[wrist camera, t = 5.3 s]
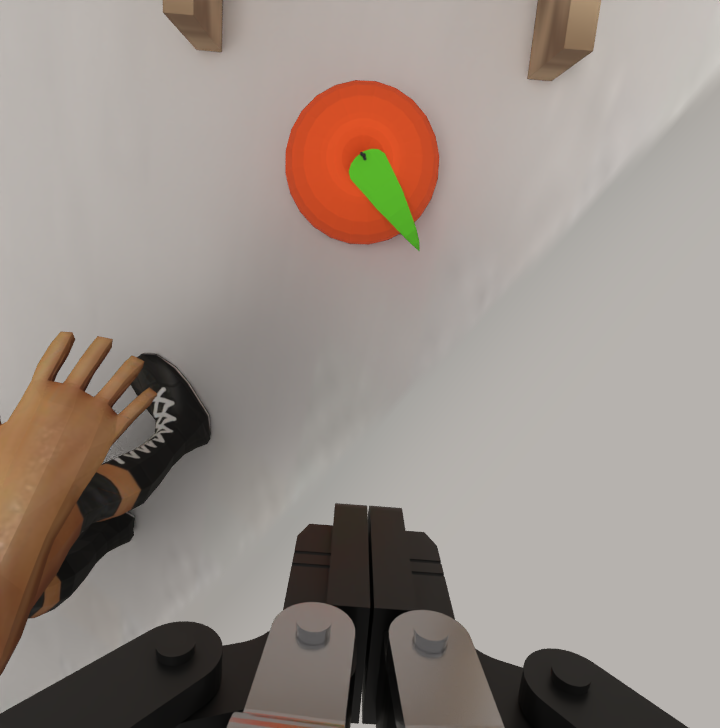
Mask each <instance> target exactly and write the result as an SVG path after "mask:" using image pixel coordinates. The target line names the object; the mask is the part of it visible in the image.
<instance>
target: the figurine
mask: <svg viewBox="0 0 720 728" xmlns="http://www.w3.org/2000/svg"><path fill="white" fill-rule="evenodd" d="M112 340H113V339H109V338H104V337H99V336H97V338H96V339H95V340H94V341H93V343H92V344H91V345H90V346H89V348H88V349H87V350H86V352H85V353H84V354H83V356H82V357H81V358H80V360H79V361H78V363H77V364H76V366H75V367H74V369H73V370H72V372H71V373H70V375H69V376H68V378H67V379H66V381H65V382H64V383H58V382H54V380H55V378H56V375H57V373H58V371H59V370H60V368H61V367H62V365H63V363H64V362H65V360H66V358H67V357H68V355H69V353H70V350H71V348H72V346H73V343H74V341H75V338H74V335H73V333H72V332H60V333H59V334H58V336H57V337H56V338H55V339H54V340H53V341H52V343H51V344H50V346H49V347H48V349H47V350H46V352H45V354H44V355H43V357H42V358H41V360H40V362H39V363H38V365H37V368H36V370H35V373H34V375H33V377H32V381H31V383H30V384H29V386H28V388H27V390H26V391H25V393H24V395H23V397H22V399H21V400H20V402H19V404H18V405H17V407H16V408H15V410H14V412H13V413H12V415H11V416H10V418H9V420H8V421H7V422H5V423H4V424H1V421H0V675H1V674H2V672H3V671H4V669H5V667H6V665H7V663H8V661H9V659H10V657H11V655H12V653H13V652H14V650H15V648H16V646H17V644H18V642H19V640H20V638H21V636H22V633H23V630H24V628H25V625H26V622H27V619H28V618H35V617H38V616H40V615H42V614H44V613H47V612H49V611H51V610H53V609H55V608H56V607H58V606H59V605H60V604H61V603H62V602H64V601H65V600H66V599H67V598H68V597H70V596H71V595H72V594H73V592H74V591H75V590H76V589H77V588H78V587H79V585H80V584H81V583H82V582H83V581H84V579H85V578H86V577H87V575H88V574H89V573H90V571H91V570H92V568H93V567H94V565H95V564H96V563H97V562H98V561H99V560H100V559H101V558H102V557H103V556H104V555H105V554H106V553H107V552H109V551H111V550H113V549H114V548H116V547H118V546H120V545H123V544H125V543H127V542H130V540H131V539H132V537H133V536H134V531H133V527H134V519H135V517H134V515H132V514H130V513H128V511H130V510H132V509H134V508H135V507H137V506H139V505H141V504H143V503H144V502H145V501H146V500H147V499H148V497H149V496H150V495H151V494H152V493H153V491H154V490H155V489H156V488H157V487H158V485H159V484H160V483H161V481H162V480H163V479H164V477H165V476H166V474H167V473H168V472H169V470H170V469H171V467H172V466H173V465H174V464H175V463H176V462H177V461H178V460H179V459H180V458H181V457H182V456H183V455H184V454H186V453H188V452H190V451H192V450H193V449H195V448H197V447H200V446H203V445H205V444H207V443H208V442H209V440H210V435H211V430H210V419H209V414H208V412H207V411H206V409H205V408H204V406H203V404H202V403H201V401H200V400H199V398H198V396H197V395H196V393H195V392H194V390H193V389H192V387H191V385H190V384H189V382H188V381H187V380H186V379H185V377H184V376H183V375H182V374H181V373H180V371H179V370H178V369H177V368H176V367H175V366H174V365H172V364H171V363H169V362H167V361H166V360H164V359H163V358H161V357H160V356H158V355H157V354H145V353H143V354H141V355H140V356H139V357H134V356H131V357H130V358H129V359H128V360H127V361H125V362H124V364H123V365H122V366H121V367H120V368H119V370H118V371H117V372H116V373H115V374H114V376H113V377H112V378H111V379H110V380H109V382H108V383H107V384H106V385H105V386H104V387H103V388H102V389H101V391H100V392H99V393H98V394H97V395H96V396H95V397H93V396H91V395H89V394H87V393H86V392H85V390H86V388H87V386H88V384H89V382H90V380H91V379H92V377H93V375H94V373H95V372H96V370H97V369H98V367H99V366H100V364H101V363H102V362H103V360H104V359H105V357H106V356H107V354H108V353H109V351H110V349H111V348H112ZM130 385H131V386H132V388H133V389H134V391H135V392H136V394H137V396H138V397H137V398H136V399H134V400H133V401H132V402H131V403H130V404H129V405H128V406H127V407H126V408H125V409H124V410H123V411H122V412H121V413H119V414H118V415H117V414H116V412H115V411H114V410H113V409H112V406H113V405H114V404H115V403H116V401H117V400H118V399H119V398H120V397H121V395H122V394H123V393H124V392H125V391H126V389H127V388H128V387H129V386H130ZM145 409H147V410H148V411H149V412H150V414H151V415H152V416H153V418H154V419H155V420H156V424H155V434H154V435H153V436H152V437H151V438H150V439H149V440H148V441H146V442H145V443H144V444H143V445H141V446H139V447H138V448H136V449H135V450H133V451H130V452H128V453H126V454H124V455H121V456H119V457H117V458H115V459H112V460H110V461H108V462H106V463H104V464H102V463H103V461H104V459H105V457H106V455H107V453H108V451H109V449H110V447H111V446H112V444H113V443H114V442H115V441H116V440H117V439H118V438H119V437H120V436H121V435H122V434H123V432H124V431H125V430H126V429H127V428H128V427H129V426H130V425H131V424H132V423H133V421H134V420H135V419H136V418H137V417H138V416H139V415H140V414H141V413H142V412H143V411H144V410H145Z"/></svg>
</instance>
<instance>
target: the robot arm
mask: <svg viewBox="0 0 720 728" xmlns="http://www.w3.org/2000/svg"><path fill="white" fill-rule="evenodd" d="M361 694H362V723H363V724H376V728H688V727H687V726H685V725H684V724H682V723H681V722H679V721H678V720H676V719H675V718H673V717H672V716H671V715H669V714H668V713H666V712H664V711H663V710H662V709H660V708H659V707H657V706H656V705H654V704H653V703H651V702H650V701H649V700H647V699H646V698H644V697H643V696H641V695H640V694H638V693H637V692H635V691H634V690H632V689H631V688H629V687H628V686H626V685H625V684H624V683H622V682H621V681H619V680H618V679H616V678H615V677H613V676H612V675H610V674H609V673H608V672H606V671H605V670H603V669H602V668H600V667H599V666H597V665H596V664H594V663H593V662H591V661H590V660H588V659H586V658H584V657H582V656H580V655H578V654H575V653H572V652H569V651H566V650H561V649H541V650H538V651H535V652H533V653H532V654H531V655H529V656H528V657H527V659H526V660H525V663H524V667H523V668H522V667H518V666H515V665H512V664H509V663H506V662H503V661H499V660H497V659H494V658H491V657H489V656H487V655H485V654H483V653H481V652H480V651H478V650H476V649H475V647H474V645H473V643H472V640H471V637H470V635H469V633H468V632H467V630H466V629H465V628H464V627H463V626H462V625H461V624H460V623H459V622H457V621H456V620H455V618H454V614H453V610H452V605H451V601H450V597H449V593H448V589H447V585H446V581H445V577H444V573H443V569H442V565H441V561H440V557H439V553H438V548H437V546H436V545H435V543H434V542H433V541H432V540H431V539H430V538H429V537H428V536H427V535H426V534H425V533H424V532H414V531H405V526H404V520H403V513H402V508H391V507H379V506H369V511H368V519H367V506H364V505H350V504H338V503H336V504H335V511H334V523H333V526H330V525H318V524H309V525H308V526H307V527H306V528H305V529H304V530H303V531H302V532H301V533H300V534H299V535H298V536H297V541H296V546H295V553H294V557H293V562H292V567H291V572H290V578H289V582H288V588H287V593H286V598H285V603H284V608H283V611H282V612H281V613H279V614H278V615H277V616H276V618H275V619H274V621H273V623H272V627H271V629H270V631H269V632H267V633H265V634H264V635H262V636H260V637H258V638H255V639H253V640H250V641H246V642H241V643H236V644H230V645H224V646H222V642H221V639H220V637H219V636H218V634H217V633H216V632H215V631H214V630H213V629H211V628H209V627H208V626H205V625H203V624H199V623H195V622H173V623H168V624H164V625H161V626H158V627H156V628H154V629H152V630H150V631H148V632H146V633H144V634H143V635H141V636H139V637H137V638H135V639H134V640H132V641H130V642H128V643H126V644H125V645H123V646H121V647H119V648H117V649H116V650H114V651H112V652H110V653H108V654H107V655H105V656H103V657H101V658H99V659H98V660H96V661H94V662H92V663H91V664H89V665H87V666H85V667H83V668H82V669H80V670H78V671H76V672H74V673H73V674H71V675H69V676H67V677H65V678H64V679H62V680H60V681H58V682H56V683H55V684H53V685H51V686H49V687H47V688H46V689H44V690H42V691H40V692H38V693H37V694H35V695H33V696H31V697H29V698H28V699H26V700H24V701H22V702H21V703H19V704H17V705H15V706H13V707H12V708H10V709H8V710H6V711H4V712H3V713H1V714H0V728H350V723H359V714H360V703H361Z"/></svg>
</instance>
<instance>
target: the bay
mask: <svg viewBox="0 0 720 728" xmlns="http://www.w3.org/2000/svg"><path fill="white" fill-rule="evenodd" d="M600 4H601V0H538V5H537V12H536V20H535V27H534V35H533V42H532V49H531V57H530V64H529V72H528V79H535V80H546V81H552V80H554V79H555V78H556V77H558V76H559V75H561V74H562V73H563V72H565V71H566V70H567V69H569V68H570V67H572V66H573V65H574V64H576V63H577V62H579V61H580V60H581V59H583V58H584V57H585V56H587V55H588V54H590V53H591V52H592V51H593V48H594V42H595V36H596V29H597V23H598V17H599V10H600ZM163 13H164V14H165V15H166V16H167V17H168V19H169V20H170V21H171V22H172V23H173V24H174V25H175V26H176V27H177V29H178V30H179V31H180V32H181V33H182V34H183V35H184V36H185V37H186V39H187V40H188V41H189V42H190V43H191V44H192V45H193V46H194V47H195V49H196V50H205V51H216V52H222V0H163Z"/></svg>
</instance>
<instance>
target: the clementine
mask: <svg viewBox="0 0 720 728" xmlns="http://www.w3.org/2000/svg"><path fill="white" fill-rule="evenodd" d="M438 167H439V153H438V147H437V142H436V136H435V134H434V132H433V130H432V127H431V125H430V123H429V121H428V119H427V116H426V115H425V114H424V113H423V112H422V110H421V109H420V108H419V107H418V106H417V104H416V103H415V102H414V101H413V100H412V99H411V98H409V97H408V96H406V95H405V94H403V93H402V92H401V91H399V90H398V89H396V88H394V87H391V86H388V85H385V84H382V83H379V82H376V81H358V80H355V81H351V82H347V83H342V84H338V85H335V86H333V87H331V88H329V89H328V90H326V91H324V92H322V93H321V94H319V95H317V96H316V97H315V98H314V99H313V100H312V101H311V102H310V103H309V104H308V105H307V106H306V107H305V108H304V109H303V110H302V112H301V113H300V115H299V117H298V119H297V120H296V122H295V124H294V126H293V128H292V129H291V133H290V137H289V141H288V144H287V148H286V177H287V181H288V185H289V190H290V194H291V196H292V197H293V199H294V201H295V203H296V205H297V207H298V209H299V211H300V212H301V213H302V214H303V215H304V217H305V218H306V219H307V220H308V221H309V222H310V223H311V224H312V225H313V226H314V227H315V228H316V229H318V230H320V231H321V232H323V233H324V234H326V235H327V236H329V237H330V238H334V239H337V240H340V241H343V242H346V243H349V244H372V243H377V242H381V241H385V240H389V239H390V238H392V237H394V236H396V235H398V234H400V233H401V234H402V235H403V236H404V237H405V238H406V239H407V240H408V241H409V242H410V243H411V244H412V245H413V246H414V247H415V248H416V249H417V250H418V251H419V239H418V234H417V230H416V227H415V224H414V222H415V221H416V220H417V219H418V218H419V217H420V216H421V214H422V213H423V211H424V210H425V208H426V207H427V205H428V203H429V202H430V200H431V198H432V195H433V192H434V189H435V186H436V183H437V179H438Z"/></svg>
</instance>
